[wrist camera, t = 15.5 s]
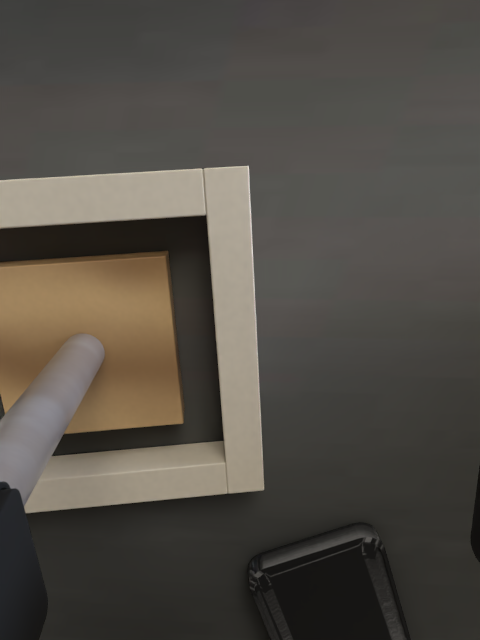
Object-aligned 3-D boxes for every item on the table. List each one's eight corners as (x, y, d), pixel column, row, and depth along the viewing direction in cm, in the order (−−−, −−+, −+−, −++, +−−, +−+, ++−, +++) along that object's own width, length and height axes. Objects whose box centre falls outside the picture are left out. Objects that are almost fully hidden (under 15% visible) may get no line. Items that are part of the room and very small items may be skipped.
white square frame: (-120, 188, 19) (-156, 189, 17) (244, 166, 20) (248, 165, 18) (-33, 493, 24) (-54, 521, 22) (259, 466, 24) (264, 491, 23)
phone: (379, 531, 25) (430, 709, 29) (372, 516, 26) (422, 690, 30) (242, 575, 25) (313, 745, 30) (240, 559, 26) (309, 725, 31)
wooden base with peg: (-14, 262, 20) (-477, 448, 6) (168, 250, 21) (97, 400, 7) (22, 422, 23) (-259, 805, 9) (184, 408, 23) (156, 752, 9)
